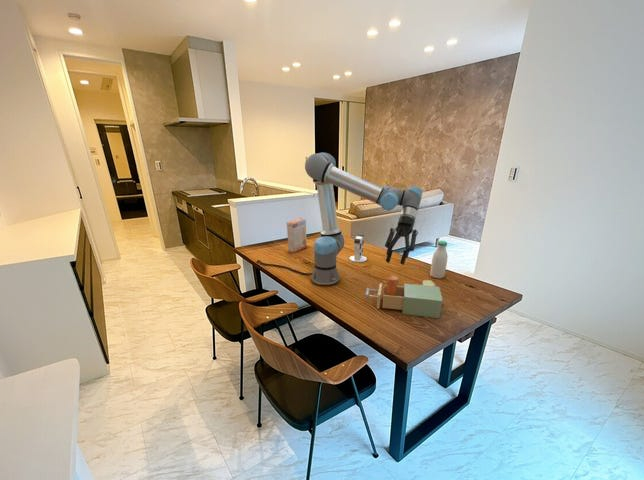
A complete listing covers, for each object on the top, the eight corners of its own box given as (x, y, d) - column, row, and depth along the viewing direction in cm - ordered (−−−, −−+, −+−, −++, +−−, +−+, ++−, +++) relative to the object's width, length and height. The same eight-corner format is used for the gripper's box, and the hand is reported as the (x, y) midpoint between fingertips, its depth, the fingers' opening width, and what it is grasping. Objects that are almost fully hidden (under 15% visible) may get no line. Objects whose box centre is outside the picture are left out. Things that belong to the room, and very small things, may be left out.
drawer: (363, 306, 135) (364, 293, 132) (366, 294, 146) (367, 282, 143) (409, 312, 131) (411, 298, 128) (409, 299, 142) (411, 286, 139)
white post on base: (364, 263, 185) (366, 240, 179) (347, 261, 188) (347, 238, 182) (368, 256, 195) (369, 234, 189) (351, 254, 199) (352, 233, 192)
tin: (384, 303, 136) (387, 279, 131) (385, 298, 140) (387, 275, 135) (395, 304, 135) (398, 280, 130) (395, 299, 139) (398, 276, 134)
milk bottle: (445, 279, 163) (451, 244, 155) (430, 278, 165) (436, 243, 156) (443, 273, 170) (449, 240, 161) (428, 272, 171) (434, 239, 163)
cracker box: (300, 246, 216) (299, 217, 208) (307, 247, 213) (306, 218, 204) (287, 251, 206) (286, 221, 197) (294, 253, 203) (293, 223, 194)
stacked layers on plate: (415, 288, 153) (416, 278, 151) (432, 288, 153) (434, 279, 151) (420, 297, 144) (421, 287, 142) (438, 298, 144) (440, 288, 142)
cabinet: (402, 313, 131) (404, 296, 128) (402, 299, 143) (404, 283, 140) (439, 318, 128) (442, 301, 124) (436, 302, 140) (439, 286, 136)
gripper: (429, 222, 141) (417, 268, 138) (392, 220, 153) (379, 262, 151) (424, 215, 135) (411, 263, 132) (386, 214, 147) (373, 257, 145)
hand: (394, 262), depth 142 cm, fingers open, 7 cm apart
